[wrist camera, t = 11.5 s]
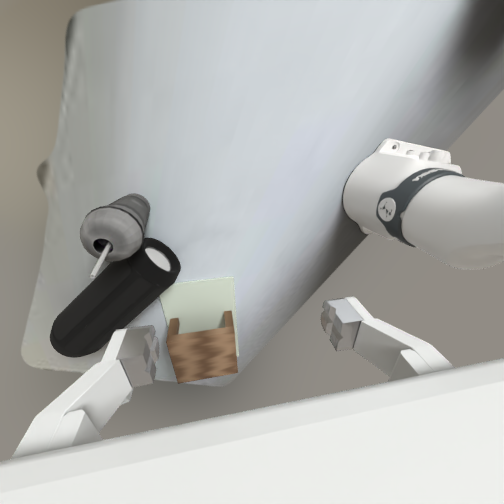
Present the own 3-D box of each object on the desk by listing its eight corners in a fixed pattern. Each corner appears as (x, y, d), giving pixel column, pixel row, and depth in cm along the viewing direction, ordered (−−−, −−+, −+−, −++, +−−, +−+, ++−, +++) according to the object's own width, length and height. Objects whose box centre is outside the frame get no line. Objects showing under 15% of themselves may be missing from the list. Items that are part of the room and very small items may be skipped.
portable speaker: (107, 329, 52) (88, 370, 43) (62, 307, 47) (30, 348, 39) (186, 257, 47) (182, 287, 38) (144, 225, 42) (129, 251, 34)
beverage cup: (148, 180, 39) (105, 226, 22) (164, 220, 42) (137, 286, 25) (104, 190, 38) (23, 244, 21) (124, 230, 42) (69, 303, 25)
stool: (234, 331, 49) (237, 372, 56) (231, 310, 55) (234, 349, 62) (166, 342, 47) (178, 383, 54) (170, 318, 53) (180, 358, 60)
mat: (233, 276, 51) (233, 277, 51) (238, 354, 64) (238, 355, 63) (157, 285, 49) (156, 286, 48) (178, 364, 61) (178, 366, 61)
